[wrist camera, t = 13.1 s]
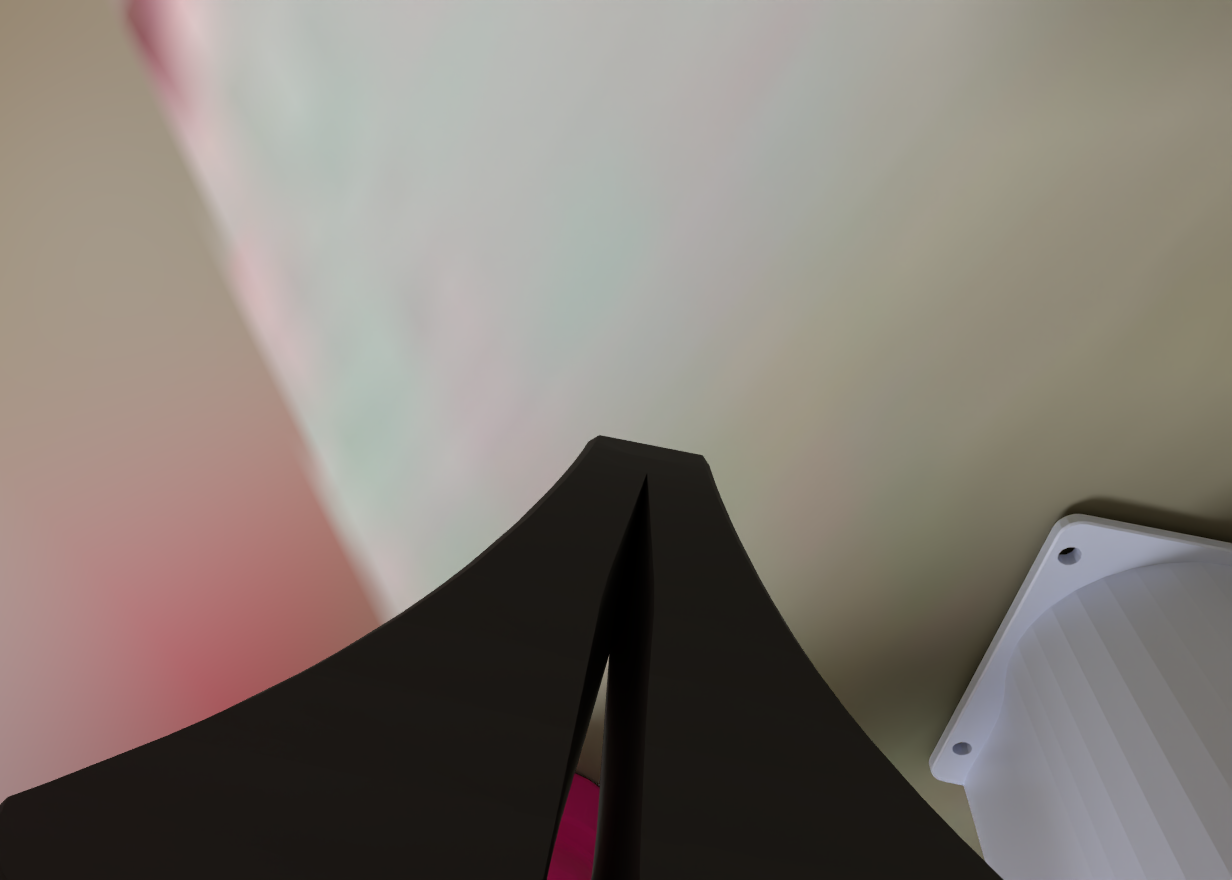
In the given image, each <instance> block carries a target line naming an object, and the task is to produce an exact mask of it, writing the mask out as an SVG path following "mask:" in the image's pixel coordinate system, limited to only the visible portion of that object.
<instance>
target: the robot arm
mask: <svg viewBox="0 0 1232 880" xmlns="http://www.w3.org/2000/svg"><path fill="white" fill-rule="evenodd" d="M1068 547H1075V549H1074V550H1073V551H1072V552H1070V553H1068V554H1065V555H1059V553H1060V552H1061V551H1062V550H1063V549H1066V548H1068ZM608 657H609V666H608V679H607V693H606V707H605V721H604V735H603V749H602V763H601V778H600V792H599V806H598V820H597V833H596V842H595V851H594V860H593V869H592V876H591V880H1232V543H1229V542H1223V541H1218V540H1213V539H1208V538H1203V537H1198V536H1193V535H1188V534H1182V533H1177V532H1172V531H1167V530H1162V529H1157V528H1152V527H1147V526H1141V525H1136V524H1131V523H1126V522H1121V521H1116V520H1111V519H1105V518H1100V517H1095V516H1090V515H1085V514H1072V515H1068V516H1065V517H1063V518H1062V519H1060V520H1058V521H1057V522H1056V524H1055V525H1054V526H1053V528H1052V529H1051V531H1050V533H1049V535H1048V537H1047V539H1046V541H1045V543H1044V544H1043V546H1042V548H1041V550H1040V552H1039V554H1038V556H1037V558H1036V559H1035V561H1034V563H1033V565H1032V567H1031V569H1030V571H1029V573H1028V574H1027V576H1026V578H1025V580H1024V582H1023V584H1022V586H1021V588H1020V589H1019V591H1018V593H1017V595H1016V597H1015V599H1014V601H1013V603H1012V604H1011V606H1010V608H1009V610H1008V612H1007V614H1006V616H1005V618H1004V619H1003V621H1002V623H1001V625H1000V627H999V629H998V631H997V633H996V634H995V636H994V638H993V640H992V642H991V644H990V646H989V648H988V650H987V651H986V653H985V655H984V657H983V659H982V661H981V663H980V665H979V666H978V668H977V670H976V672H975V674H974V676H973V678H972V680H971V681H970V683H969V685H968V687H967V689H966V691H965V693H964V695H963V696H962V698H961V700H960V702H959V704H958V706H957V708H956V710H955V711H954V713H953V715H952V717H951V719H950V721H949V723H948V725H947V726H946V728H945V730H944V732H943V734H942V736H941V738H940V740H939V741H938V743H937V745H936V747H935V749H934V751H933V753H932V755H931V756H930V759H929V766H930V770H931V773H932V775H933V776H934V777H935V778H936V779H938V780H941V781H944V782H949V783H954V784H959V785H963V786H964V788H965V792H966V795H967V799H968V802H969V806H970V809H971V813H972V816H973V820H974V824H975V827H976V831H977V834H978V838H979V841H980V845H981V848H982V852H983V855H984V859H985V861H984V860H983V859H982V858H981V857H980V856H979V855H978V854H977V853H976V852H975V851H974V850H973V849H972V848H971V847H970V846H969V845H968V844H967V843H966V842H965V841H963V840H962V839H961V838H960V837H959V836H958V835H957V833H956V832H955V831H954V830H953V829H952V828H951V827H950V826H949V825H948V824H947V823H946V822H945V821H944V820H943V819H942V818H941V817H940V816H939V815H938V814H937V813H936V812H935V811H934V810H933V808H932V807H931V806H930V805H929V804H928V803H927V802H926V801H925V800H924V799H923V798H922V797H921V796H920V795H919V794H918V792H917V791H916V790H915V789H914V788H913V787H912V786H911V785H910V783H909V782H908V781H907V780H906V779H905V778H904V777H903V776H902V774H901V773H900V772H899V771H898V770H897V769H896V768H895V767H894V765H893V764H892V763H891V762H890V761H889V760H888V759H887V757H886V756H885V755H884V754H883V753H882V752H881V751H880V750H879V748H878V747H877V746H876V745H875V744H874V743H873V742H872V741H871V739H870V738H869V737H868V736H867V735H866V733H865V732H864V731H863V730H862V729H861V727H860V726H859V725H858V724H857V722H856V721H855V720H854V719H853V718H852V716H851V715H850V714H849V713H848V711H847V710H846V709H845V708H844V706H843V705H842V704H841V702H840V701H839V700H838V698H837V697H836V696H835V694H834V693H833V692H832V690H831V689H830V688H829V686H828V685H827V684H826V682H825V681H824V680H823V678H822V677H821V675H820V674H819V673H818V671H817V670H816V668H815V667H814V665H813V664H812V663H811V661H810V660H809V658H808V657H807V655H806V654H805V652H804V651H803V649H802V648H801V646H800V645H799V643H798V642H797V640H796V639H795V637H794V635H793V634H792V632H791V631H790V629H789V627H788V626H787V624H786V622H785V621H784V619H783V618H782V616H781V614H780V613H779V611H778V609H777V608H776V606H775V604H774V603H773V601H772V599H771V598H770V596H769V594H768V592H767V590H766V589H765V587H764V585H763V583H762V582H761V580H760V578H759V576H758V574H757V572H756V570H755V568H754V566H753V564H752V563H751V561H750V559H749V557H748V555H747V553H746V551H745V549H744V547H743V545H742V543H741V541H740V539H739V537H738V535H737V533H736V531H735V529H734V527H733V524H732V522H731V520H730V518H729V515H728V513H727V511H726V508H725V506H724V504H723V501H722V499H721V497H720V494H719V492H718V489H717V486H716V484H715V481H714V478H713V475H712V472H711V469H710V466H709V464H708V463H707V461H706V460H705V458H704V457H703V455H698V454H693V453H688V452H683V451H678V450H673V449H667V448H662V447H657V446H652V445H647V444H642V443H637V442H632V441H626V440H621V439H616V438H611V437H606V436H601V435H599V436H597V437H595V438H594V439H592V440H590V441H589V442H588V443H587V445H586V446H585V448H584V449H583V451H582V452H581V454H580V455H579V456H578V457H577V459H576V460H575V461H574V463H573V464H572V465H571V466H570V467H569V469H568V470H567V471H566V472H565V473H564V474H563V476H562V477H561V478H560V479H559V480H558V481H557V482H556V483H555V484H554V486H553V487H552V488H551V489H550V490H549V491H548V492H547V493H546V494H545V495H544V496H543V497H542V498H541V499H540V500H539V501H538V502H537V503H536V504H535V505H534V506H533V507H532V508H531V509H530V510H529V511H528V512H527V513H526V514H525V515H524V516H523V517H522V518H521V519H520V520H519V521H518V522H517V523H516V524H515V525H513V526H512V527H511V528H510V529H509V530H508V531H507V532H506V533H504V534H503V535H502V536H501V537H500V538H499V539H497V540H496V541H495V542H494V543H493V544H492V545H490V546H489V547H488V548H487V549H486V550H485V551H483V552H482V553H481V554H480V555H479V556H478V557H476V558H475V559H474V560H473V561H472V562H471V563H469V564H468V565H467V566H466V567H464V568H463V569H462V570H460V571H459V572H458V573H456V574H455V575H454V576H453V577H451V578H450V579H449V580H447V581H446V582H445V583H443V584H442V585H441V586H439V587H438V588H437V589H435V590H434V591H432V592H431V593H430V594H428V595H427V596H425V597H424V598H422V599H421V600H419V601H418V602H417V603H415V604H414V605H412V606H411V607H409V608H408V609H406V610H405V611H404V612H402V613H401V614H399V615H397V616H396V617H394V618H393V619H391V620H390V621H388V622H386V623H385V624H383V625H381V626H380V627H378V628H377V629H375V630H373V631H372V632H370V633H368V634H367V635H365V636H364V637H362V638H360V639H359V640H357V641H355V642H354V643H352V644H350V645H349V646H347V647H346V648H344V649H342V650H341V651H339V652H337V653H335V654H334V655H332V656H330V657H328V658H326V659H325V660H323V661H321V662H319V663H318V664H316V665H314V666H312V667H310V668H308V669H306V670H305V671H303V672H301V673H299V674H297V675H295V676H293V677H291V678H289V679H287V680H285V681H283V682H281V683H279V684H277V685H275V686H273V687H271V688H268V689H267V690H265V691H262V692H261V693H259V694H256V695H254V696H252V697H250V698H248V699H246V700H244V701H242V702H240V703H238V704H236V705H234V706H232V707H230V708H228V709H226V710H224V711H222V712H220V713H218V714H215V715H213V716H211V717H209V718H207V719H205V720H202V721H200V722H198V723H195V724H193V725H191V726H188V727H186V728H184V729H181V730H179V731H177V732H175V733H172V734H170V735H168V736H165V737H163V738H160V739H158V740H155V741H152V742H150V743H147V744H145V745H142V746H140V747H137V748H135V749H132V750H129V751H127V752H124V753H122V754H119V755H117V756H115V757H112V758H110V759H107V760H104V761H101V762H99V763H96V764H94V765H91V766H89V767H86V768H84V769H81V770H79V771H76V772H74V773H71V774H68V775H66V776H63V777H61V778H58V779H56V780H53V781H51V782H48V783H45V784H43V785H40V786H37V787H35V788H32V789H29V790H26V791H23V792H21V793H18V794H15V795H12V796H10V797H8V798H6V799H5V800H4V801H3V802H2V803H1V805H0V880H547V877H548V872H549V867H550V862H551V858H552V854H553V850H554V846H555V842H556V838H557V834H558V830H559V826H560V822H561V819H562V815H563V812H564V808H565V805H566V802H567V798H568V795H569V791H570V788H571V784H572V781H573V777H574V774H575V771H576V767H577V764H578V760H579V757H580V753H581V750H582V746H583V743H584V740H585V736H586V733H587V729H588V726H589V722H590V719H591V715H592V712H593V709H594V705H595V702H596V698H597V695H598V691H599V688H600V684H601V681H602V677H603V674H604V671H605V667H606V664H607V660H608ZM960 742H964V743H961V744H957V743H960Z"/></svg>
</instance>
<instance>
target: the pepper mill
mask: <svg viewBox="0 0 1232 880" xmlns="http://www.w3.org/2000/svg"><path fill="white" fill-rule="evenodd" d="M599 792H600V788H599V787H598V786H597V785H595V784H594V783H593V782H591V781H590V780H588V779H586V778H584V777H582V776H580V775H578V774H576V773H575V774H574V777H573V781H572V784H571V788H570V791H569V795H568V798H567V802H566V805H565V808H564V812H563V815H562V819H561V822H560V826H559V830H558V834H557V838H556V842H555V846H554V850H553V854H552V858H551V862H550V867H549V872H548V877H547V880H591V876H592V869H593V860H594V851H595V842H596V833H597V820H598V806H599Z"/></svg>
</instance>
